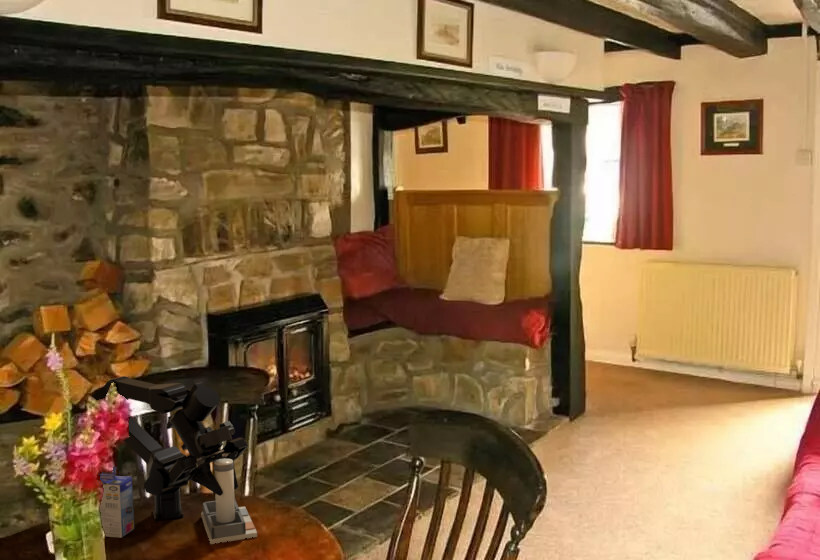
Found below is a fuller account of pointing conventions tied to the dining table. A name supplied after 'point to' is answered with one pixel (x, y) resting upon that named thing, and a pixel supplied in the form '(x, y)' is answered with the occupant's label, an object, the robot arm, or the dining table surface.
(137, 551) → the dining table surface
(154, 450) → the robot arm
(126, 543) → the dining table surface
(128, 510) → the ink cartridge box
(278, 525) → the dining table surface
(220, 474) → the plug
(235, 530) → the socket board
